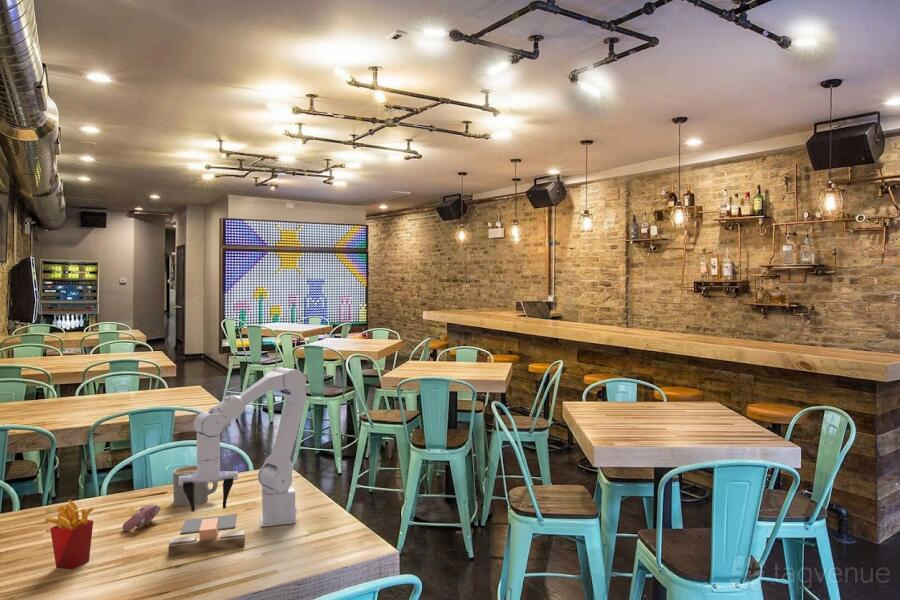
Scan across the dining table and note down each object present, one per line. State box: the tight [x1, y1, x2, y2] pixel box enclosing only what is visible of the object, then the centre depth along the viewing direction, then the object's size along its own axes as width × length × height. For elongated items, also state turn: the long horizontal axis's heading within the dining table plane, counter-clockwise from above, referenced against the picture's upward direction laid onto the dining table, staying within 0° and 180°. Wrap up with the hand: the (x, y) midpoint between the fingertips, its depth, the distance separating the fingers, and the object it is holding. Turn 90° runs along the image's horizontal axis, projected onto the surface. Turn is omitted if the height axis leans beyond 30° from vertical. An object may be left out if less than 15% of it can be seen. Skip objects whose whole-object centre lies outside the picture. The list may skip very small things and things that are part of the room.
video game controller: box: [122, 503, 161, 532], centre depth 172 cm, size 10×5×7 cm, turn 169°
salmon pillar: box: [198, 518, 219, 541], centre depth 161 cm, size 4×8×5 cm, turn 17°
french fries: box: [45, 499, 95, 571], centre depth 147 cm, size 9×8×15 cm
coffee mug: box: [172, 464, 219, 507], centre depth 192 cm, size 13×10×10 cm
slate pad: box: [180, 513, 238, 535], centre depth 173 cm, size 14×10×1 cm
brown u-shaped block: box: [168, 529, 246, 557], centre depth 157 cm, size 18×4×3 cm, turn 107°
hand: (209, 508), depth 161 cm, fingers open, 7 cm apart
